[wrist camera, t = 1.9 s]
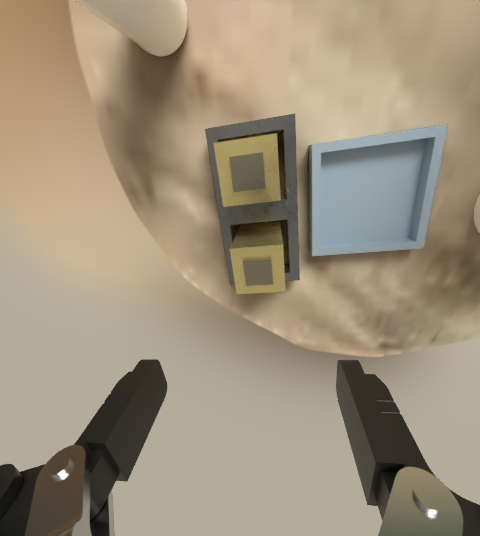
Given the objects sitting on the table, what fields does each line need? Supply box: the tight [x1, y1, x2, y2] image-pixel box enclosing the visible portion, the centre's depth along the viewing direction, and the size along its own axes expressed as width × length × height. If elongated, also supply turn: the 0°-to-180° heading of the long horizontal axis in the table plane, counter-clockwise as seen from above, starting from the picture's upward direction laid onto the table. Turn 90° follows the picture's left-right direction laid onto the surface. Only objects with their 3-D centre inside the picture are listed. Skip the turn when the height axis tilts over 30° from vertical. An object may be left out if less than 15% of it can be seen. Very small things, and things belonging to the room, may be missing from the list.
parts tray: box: [309, 125, 448, 256], centre depth 23 cm, size 11×11×2 cm
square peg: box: [213, 133, 281, 207], centre depth 21 cm, size 4×4×8 cm
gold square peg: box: [230, 222, 286, 294], centre depth 24 cm, size 4×4×8 cm
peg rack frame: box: [205, 114, 300, 284], centre depth 25 cm, size 8×16×2 cm, turn 7°
